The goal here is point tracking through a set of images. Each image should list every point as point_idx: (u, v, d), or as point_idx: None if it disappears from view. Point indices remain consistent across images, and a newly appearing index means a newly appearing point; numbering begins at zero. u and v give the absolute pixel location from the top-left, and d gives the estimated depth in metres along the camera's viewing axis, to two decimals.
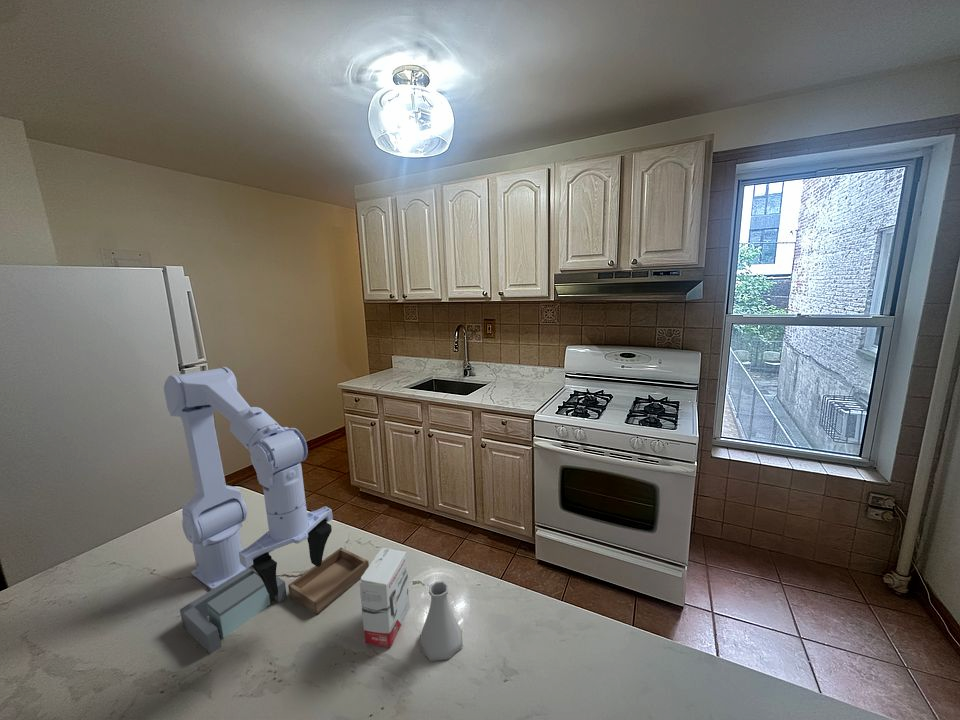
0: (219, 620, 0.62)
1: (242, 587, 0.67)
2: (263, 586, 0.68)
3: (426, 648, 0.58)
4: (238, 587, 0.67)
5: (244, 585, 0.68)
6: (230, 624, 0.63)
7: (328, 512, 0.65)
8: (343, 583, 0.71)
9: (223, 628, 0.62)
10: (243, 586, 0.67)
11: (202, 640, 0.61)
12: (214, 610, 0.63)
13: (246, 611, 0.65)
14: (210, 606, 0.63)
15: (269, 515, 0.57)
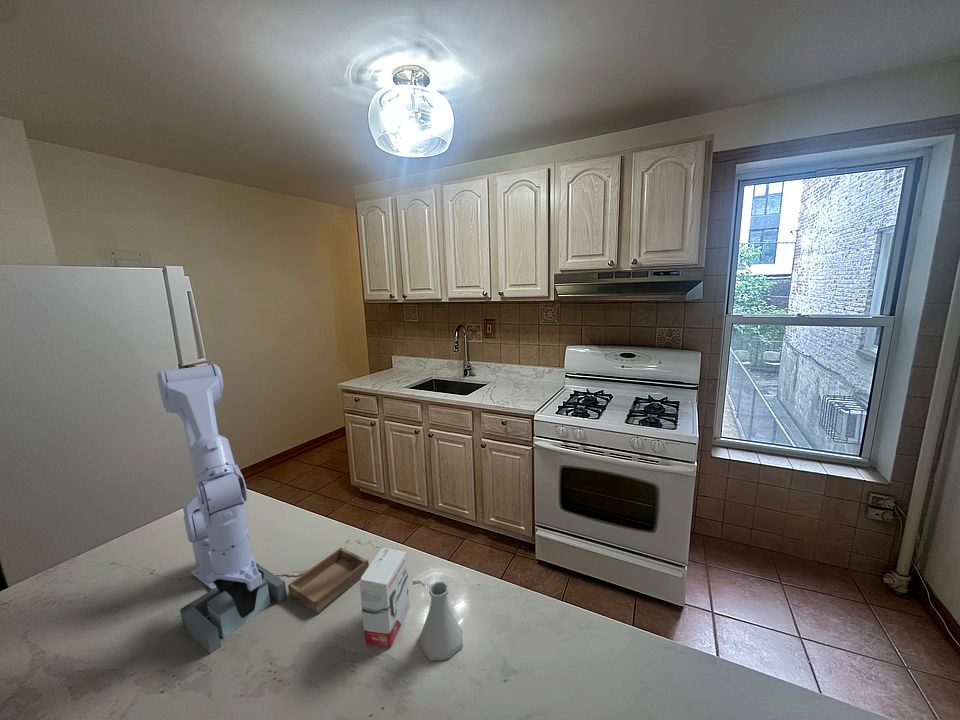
0: (218, 619, 0.62)
1: None
2: (263, 585, 0.68)
3: (426, 648, 0.58)
4: None
5: None
6: (230, 623, 0.63)
7: (246, 581, 0.61)
8: (343, 583, 0.71)
9: (223, 628, 0.62)
10: None
11: (202, 640, 0.61)
12: (214, 609, 0.63)
13: None
14: (210, 605, 0.63)
15: None
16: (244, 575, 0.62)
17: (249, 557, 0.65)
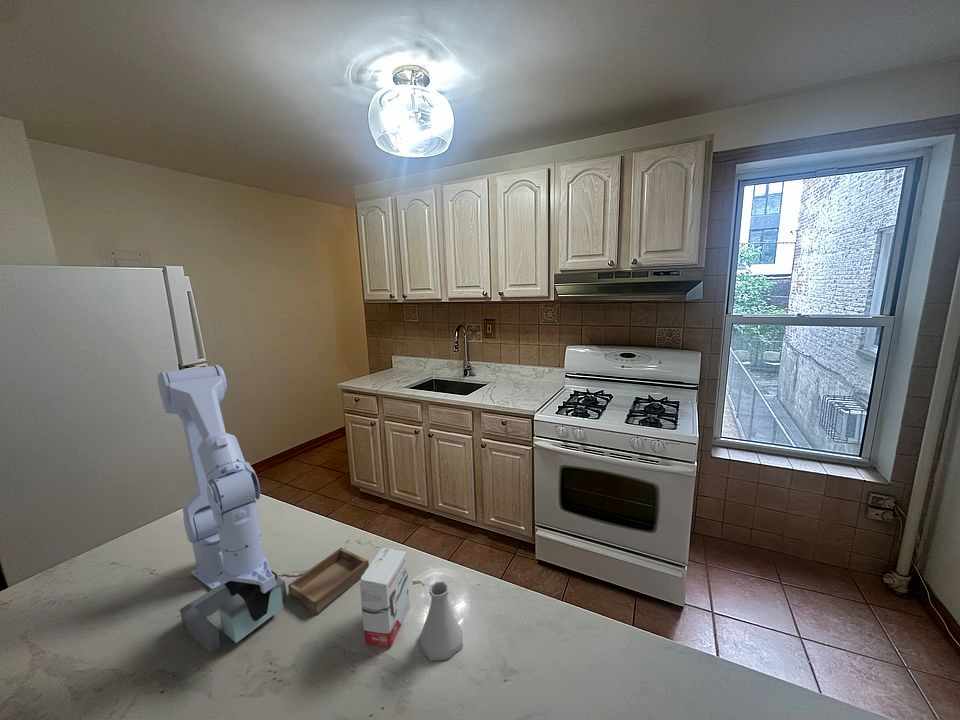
0: (231, 623, 0.60)
1: None
2: (276, 588, 0.65)
3: (426, 648, 0.58)
4: None
5: None
6: (242, 628, 0.61)
7: (260, 583, 0.58)
8: (343, 583, 0.71)
9: (236, 632, 0.60)
10: None
11: (202, 640, 0.61)
12: (226, 613, 0.60)
13: None
14: (222, 609, 0.61)
15: None
16: (257, 577, 0.60)
17: (261, 558, 0.63)
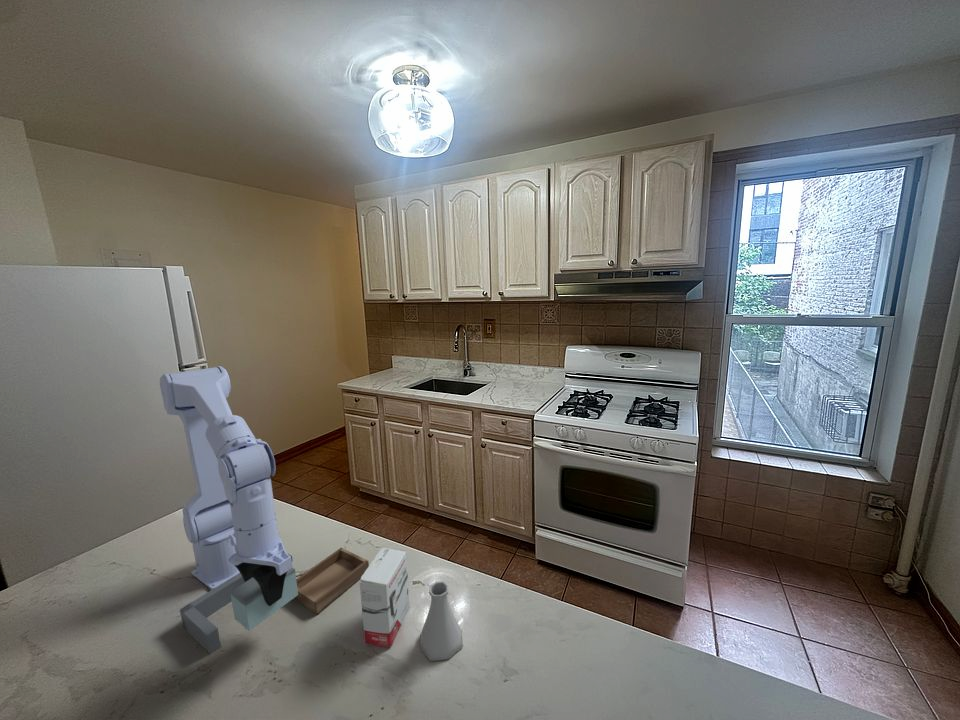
0: (244, 610, 0.56)
1: None
2: (291, 574, 0.62)
3: (426, 648, 0.58)
4: None
5: None
6: (256, 615, 0.57)
7: (275, 564, 0.55)
8: (343, 583, 0.71)
9: (249, 620, 0.56)
10: None
11: (202, 640, 0.61)
12: (239, 599, 0.56)
13: None
14: (234, 595, 0.57)
15: None
16: (272, 558, 0.56)
17: (276, 539, 0.59)
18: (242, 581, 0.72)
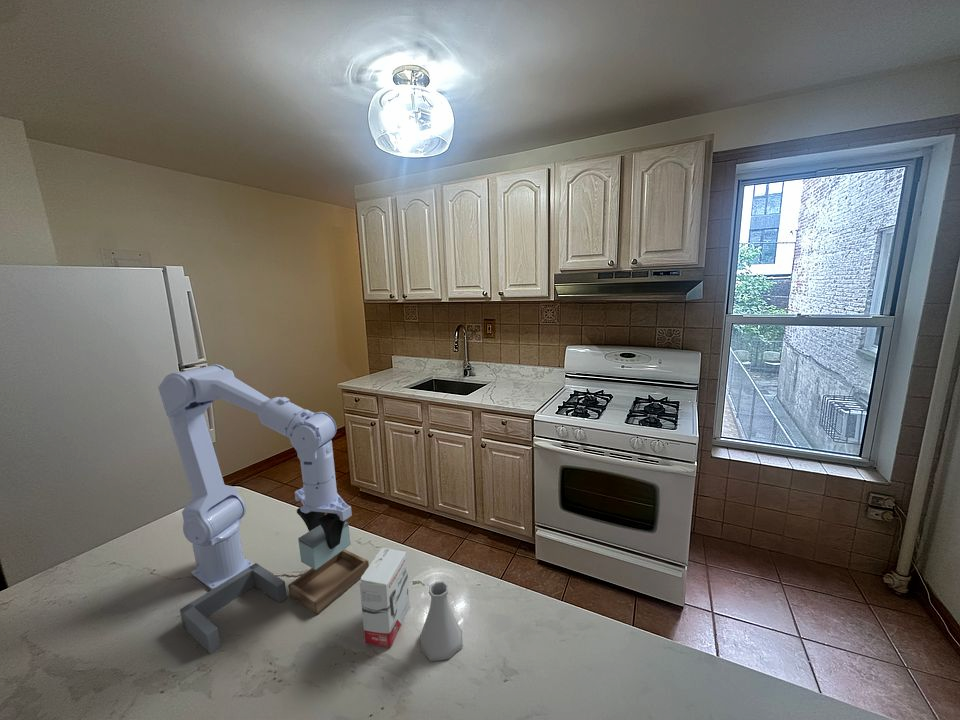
0: (311, 552, 0.68)
1: None
2: (345, 526, 0.73)
3: (426, 648, 0.58)
4: None
5: None
6: (320, 557, 0.69)
7: (339, 511, 0.66)
8: (343, 583, 0.71)
9: (315, 560, 0.68)
10: None
11: (202, 640, 0.61)
12: (306, 544, 0.68)
13: None
14: (302, 541, 0.69)
15: None
16: (335, 508, 0.68)
17: (336, 494, 0.71)
18: (242, 581, 0.72)
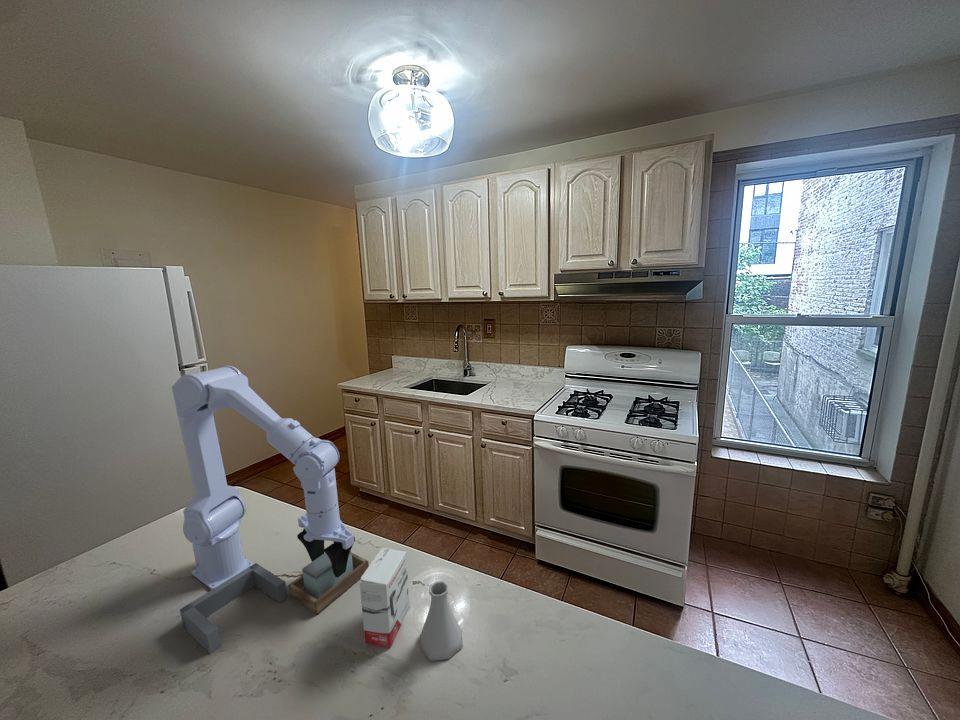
0: (315, 583, 0.69)
1: None
2: None
3: (426, 648, 0.58)
4: (326, 556, 0.74)
5: None
6: (324, 588, 0.70)
7: (342, 540, 0.67)
8: (343, 583, 0.71)
9: (319, 591, 0.69)
10: None
11: (202, 640, 0.61)
12: (310, 574, 0.69)
13: (336, 577, 0.72)
14: (306, 571, 0.70)
15: None
16: (338, 536, 0.69)
17: (339, 521, 0.72)
18: (242, 581, 0.72)
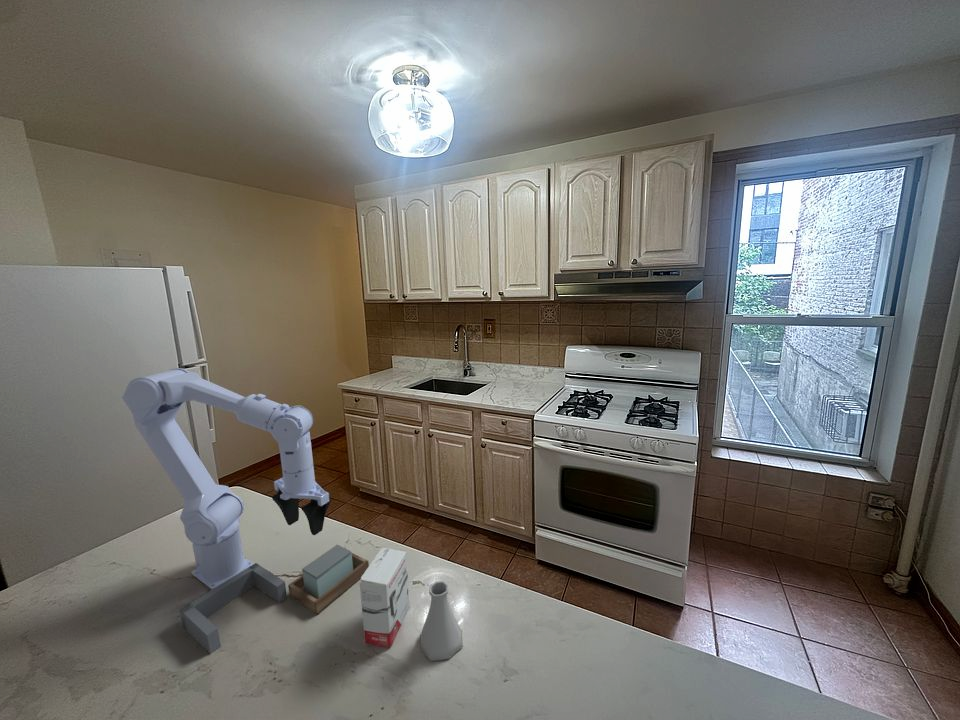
0: (315, 583, 0.69)
1: (330, 556, 0.74)
2: (348, 555, 0.74)
3: (426, 648, 0.58)
4: (326, 556, 0.74)
5: (331, 554, 0.74)
6: (324, 588, 0.70)
7: (317, 497, 0.72)
8: (343, 583, 0.71)
9: (319, 591, 0.69)
10: (331, 555, 0.74)
11: (202, 640, 0.61)
12: (310, 574, 0.69)
13: (336, 577, 0.72)
14: (306, 571, 0.70)
15: None
16: (313, 494, 0.73)
17: (314, 482, 0.76)
18: (242, 581, 0.72)
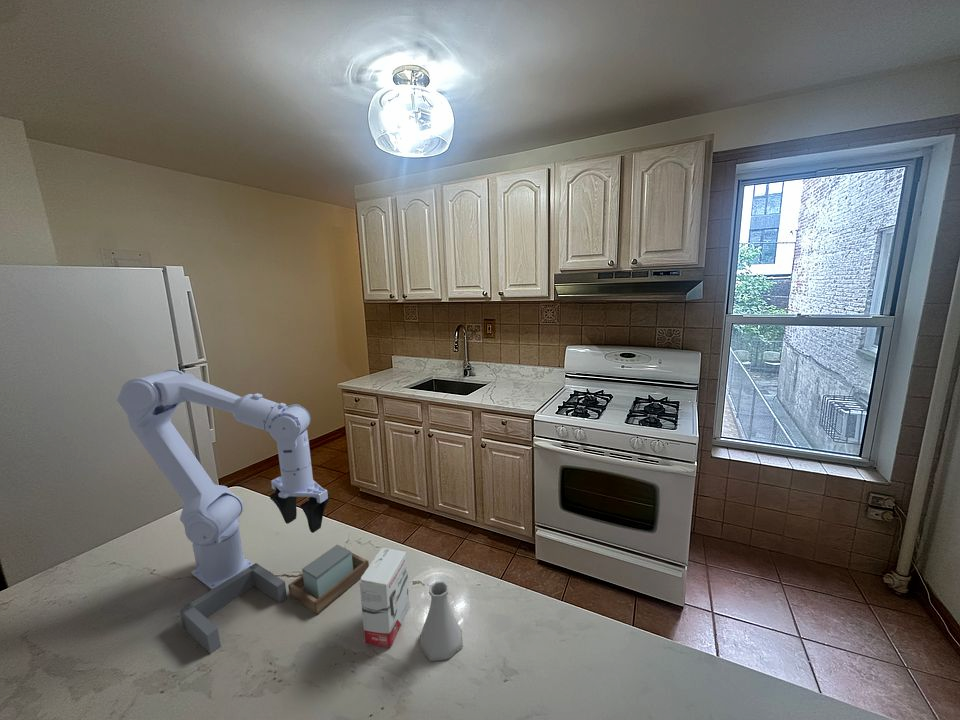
0: (315, 583, 0.69)
1: (330, 556, 0.74)
2: (348, 555, 0.74)
3: (426, 648, 0.58)
4: (326, 556, 0.74)
5: (331, 554, 0.74)
6: (324, 588, 0.70)
7: (316, 495, 0.72)
8: (343, 583, 0.71)
9: (319, 591, 0.69)
10: (331, 555, 0.74)
11: (202, 640, 0.61)
12: (310, 574, 0.69)
13: (336, 577, 0.72)
14: (306, 571, 0.70)
15: None
16: (312, 492, 0.74)
17: (312, 480, 0.76)
18: (242, 581, 0.72)
